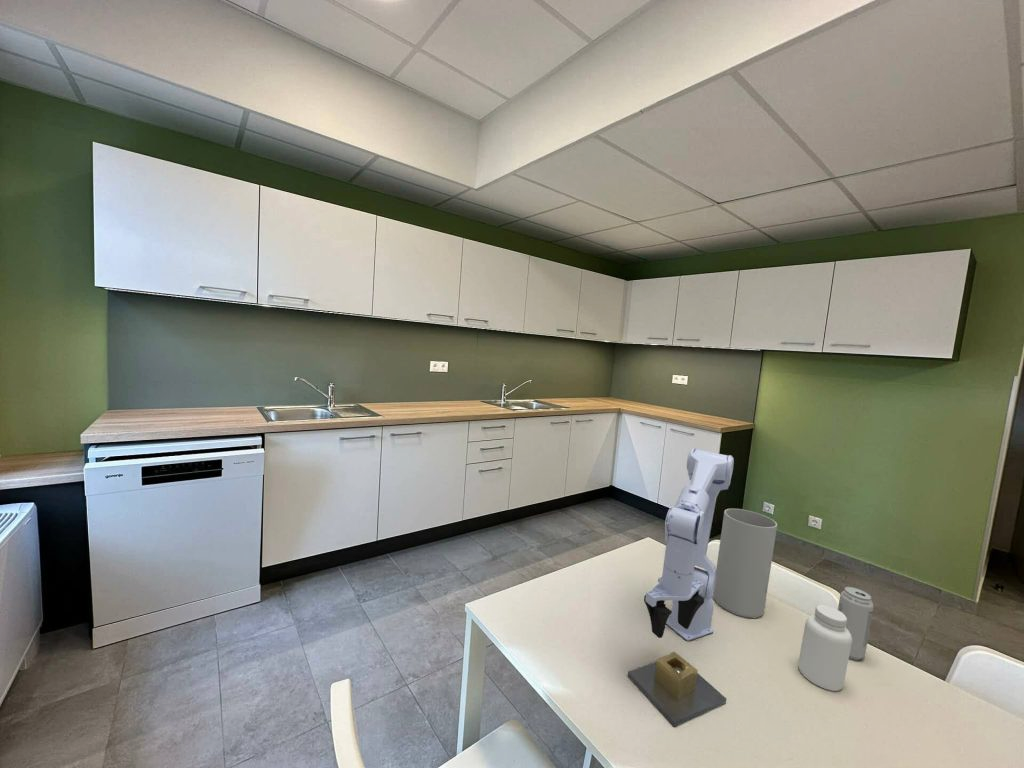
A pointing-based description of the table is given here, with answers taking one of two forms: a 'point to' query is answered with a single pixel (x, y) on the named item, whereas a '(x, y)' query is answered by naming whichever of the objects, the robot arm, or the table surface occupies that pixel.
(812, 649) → the pill bottle
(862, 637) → the energy drink can
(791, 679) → the table surface
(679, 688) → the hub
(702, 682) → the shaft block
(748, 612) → the cylinder vase
